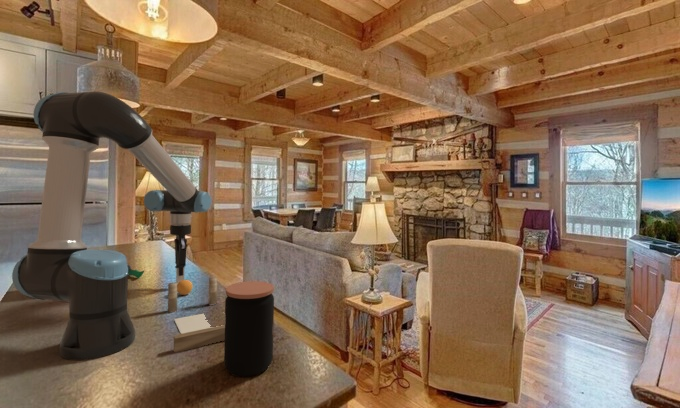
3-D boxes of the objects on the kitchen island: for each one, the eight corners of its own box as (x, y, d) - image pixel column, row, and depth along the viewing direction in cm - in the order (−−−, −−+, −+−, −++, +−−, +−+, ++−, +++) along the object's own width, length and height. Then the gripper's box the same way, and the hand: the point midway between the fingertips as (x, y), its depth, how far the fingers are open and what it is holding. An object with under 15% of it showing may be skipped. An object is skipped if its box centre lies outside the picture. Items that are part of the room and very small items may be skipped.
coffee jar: (282, 365, 74) (283, 287, 74) (240, 385, 66) (241, 298, 66) (255, 349, 81) (256, 278, 81) (215, 365, 73) (216, 286, 73)
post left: (177, 311, 105) (177, 283, 104) (168, 313, 103) (168, 285, 103) (176, 308, 107) (176, 282, 107) (167, 310, 105) (167, 283, 105)
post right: (217, 304, 112) (218, 278, 112) (209, 305, 111) (210, 279, 110) (215, 302, 114) (216, 277, 114) (208, 303, 113) (208, 278, 112)
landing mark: (234, 325, 95) (234, 325, 95) (182, 337, 87) (182, 336, 87) (221, 310, 106) (221, 310, 106) (174, 319, 98) (174, 319, 98)
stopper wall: (254, 333, 90) (254, 321, 90) (174, 352, 79) (175, 338, 78) (252, 331, 92) (252, 318, 92) (173, 349, 80) (173, 335, 80)
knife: (118, 273, 148) (118, 263, 148) (122, 273, 150) (122, 262, 150) (143, 280, 139) (143, 269, 138) (147, 279, 140) (147, 268, 140)
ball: (193, 295, 121) (194, 280, 121) (177, 297, 118) (177, 282, 118) (190, 291, 126) (191, 277, 125) (175, 293, 122) (175, 279, 122)
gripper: (194, 225, 125) (193, 285, 126) (187, 222, 136) (187, 278, 137) (172, 226, 121) (172, 288, 122) (167, 223, 132) (167, 280, 133)
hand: (180, 283), depth 129 cm, fingers closed
